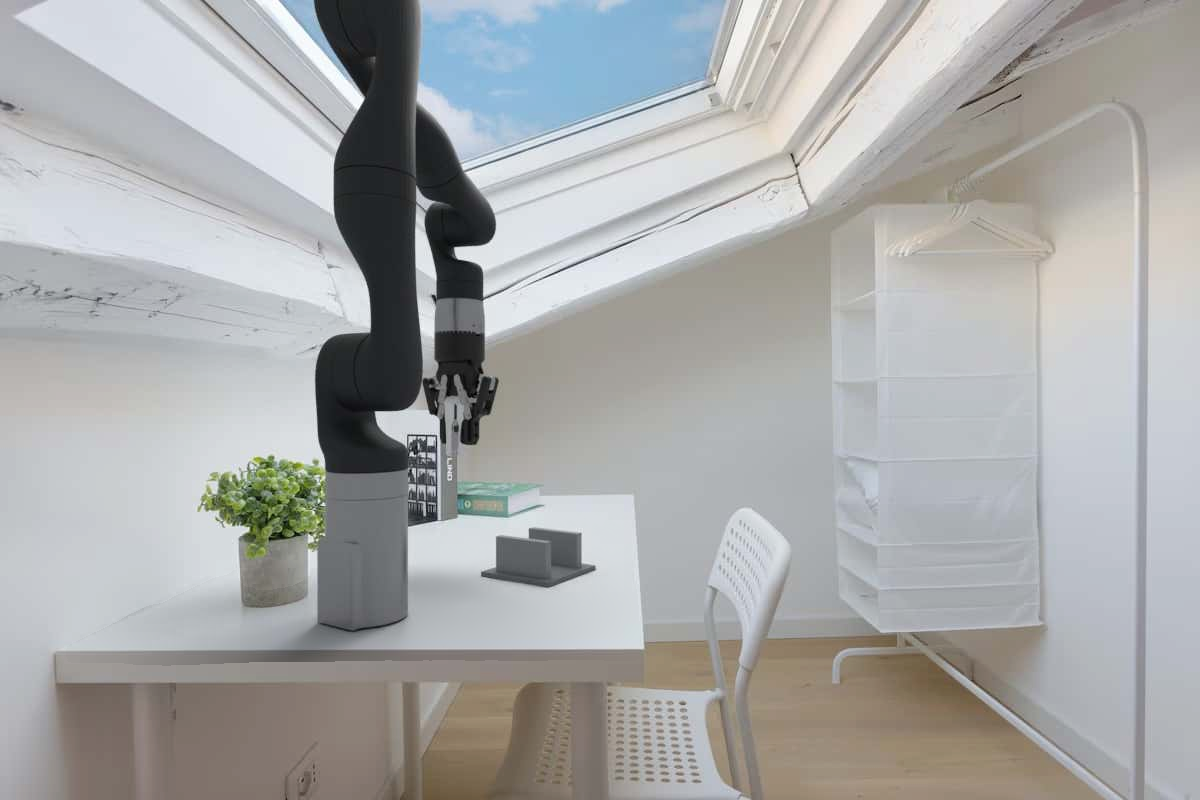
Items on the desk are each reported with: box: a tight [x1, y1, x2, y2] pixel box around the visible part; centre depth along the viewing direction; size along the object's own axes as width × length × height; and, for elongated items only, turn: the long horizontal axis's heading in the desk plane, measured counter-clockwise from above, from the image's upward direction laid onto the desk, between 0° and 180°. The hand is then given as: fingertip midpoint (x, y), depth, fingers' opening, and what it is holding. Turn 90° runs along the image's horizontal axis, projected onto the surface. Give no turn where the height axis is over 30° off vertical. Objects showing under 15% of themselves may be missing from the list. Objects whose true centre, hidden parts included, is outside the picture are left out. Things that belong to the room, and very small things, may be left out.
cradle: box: [480, 526, 597, 588], centre depth 105 cm, size 12×12×6 cm
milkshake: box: [444, 394, 478, 457], centre depth 107 cm, size 5×5×10 cm
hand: (459, 443), depth 108 cm, fingers closed on milkshake, 4 cm apart
